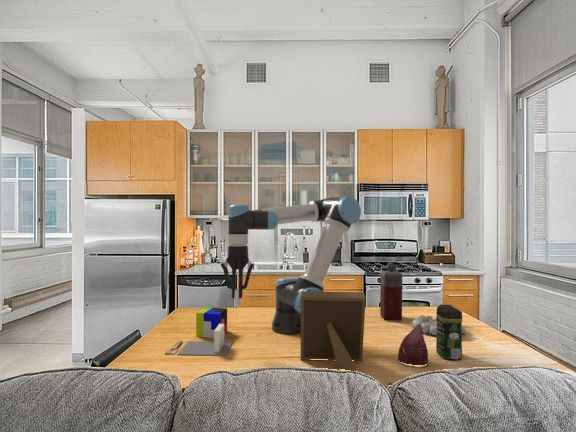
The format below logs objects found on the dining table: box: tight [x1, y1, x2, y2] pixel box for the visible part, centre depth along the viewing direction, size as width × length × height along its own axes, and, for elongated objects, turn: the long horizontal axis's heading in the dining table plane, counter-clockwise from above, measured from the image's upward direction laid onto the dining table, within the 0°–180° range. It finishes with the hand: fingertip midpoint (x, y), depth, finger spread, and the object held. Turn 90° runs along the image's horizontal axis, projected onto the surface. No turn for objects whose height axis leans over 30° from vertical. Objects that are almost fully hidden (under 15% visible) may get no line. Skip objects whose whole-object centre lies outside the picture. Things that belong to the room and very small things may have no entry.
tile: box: [213, 324, 225, 352], centre depth 142 cm, size 2×9×8 cm, turn 179°
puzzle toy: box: [195, 306, 228, 339], centre depth 161 cm, size 10×10×10 cm
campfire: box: [411, 315, 467, 336], centre depth 166 cm, size 22×21×6 cm
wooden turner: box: [164, 340, 183, 356], centre depth 143 cm, size 4×12×1 cm, turn 179°
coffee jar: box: [435, 304, 463, 360], centre depth 137 cm, size 10×8×19 cm
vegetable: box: [397, 324, 429, 365], centre depth 132 cm, size 10×10×15 cm
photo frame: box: [300, 291, 367, 370], centre depth 128 cm, size 15×22×25 cm
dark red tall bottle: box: [379, 262, 403, 321], centre depth 187 cm, size 9×11×28 cm
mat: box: [176, 340, 234, 357], centre depth 143 cm, size 18×14×1 cm
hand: (237, 306), depth 142 cm, fingers closed
